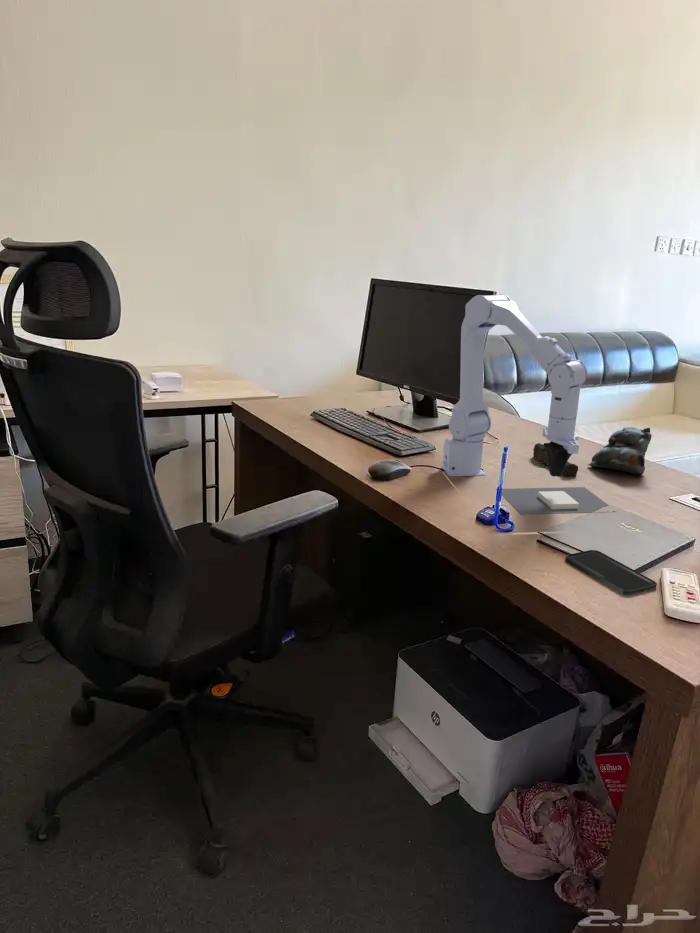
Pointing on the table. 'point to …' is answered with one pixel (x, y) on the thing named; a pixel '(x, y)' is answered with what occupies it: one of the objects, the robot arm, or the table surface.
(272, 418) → the table surface
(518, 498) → the mat
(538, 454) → the hand tool
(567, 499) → the tile
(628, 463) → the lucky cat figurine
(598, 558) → the phone
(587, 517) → the table surface
